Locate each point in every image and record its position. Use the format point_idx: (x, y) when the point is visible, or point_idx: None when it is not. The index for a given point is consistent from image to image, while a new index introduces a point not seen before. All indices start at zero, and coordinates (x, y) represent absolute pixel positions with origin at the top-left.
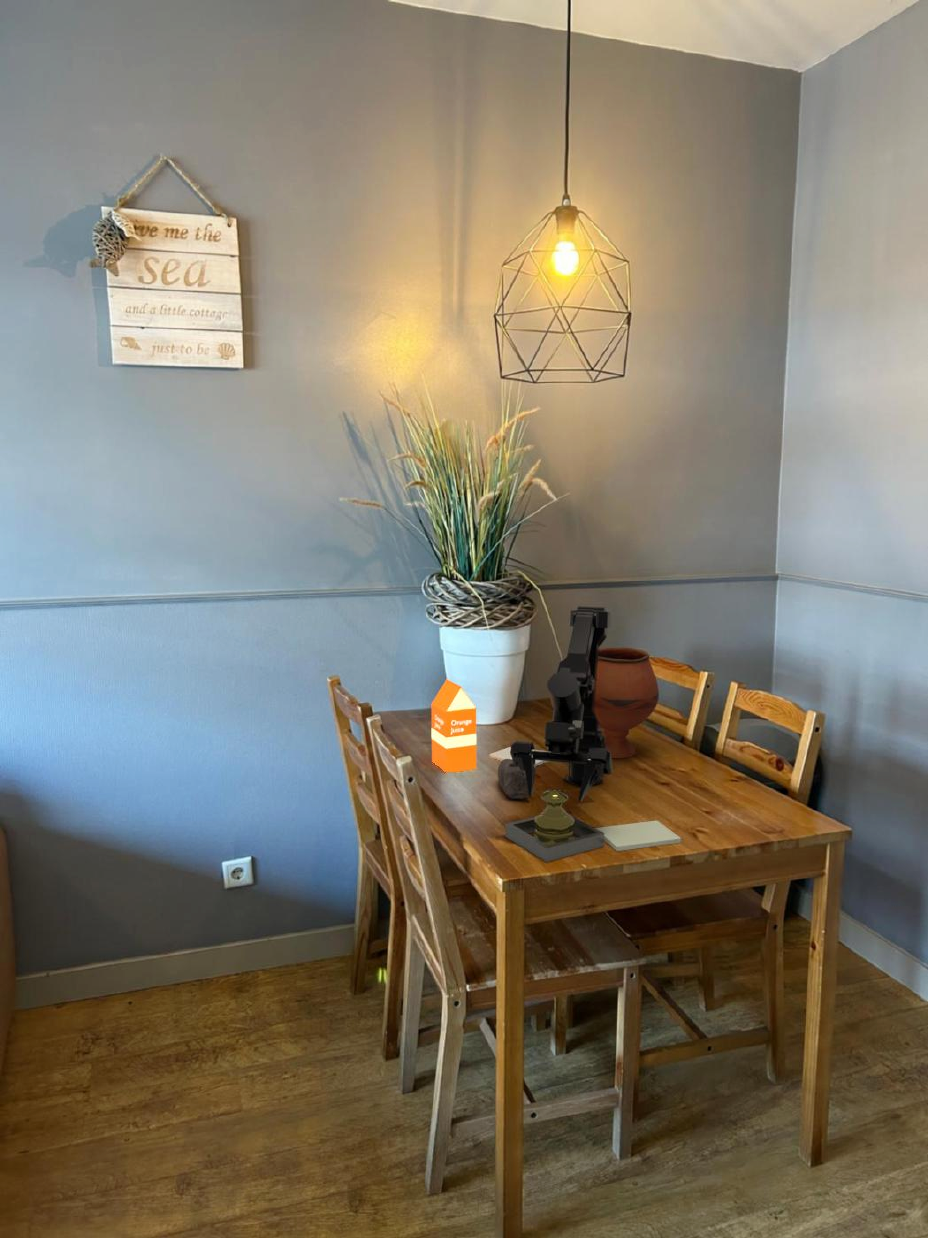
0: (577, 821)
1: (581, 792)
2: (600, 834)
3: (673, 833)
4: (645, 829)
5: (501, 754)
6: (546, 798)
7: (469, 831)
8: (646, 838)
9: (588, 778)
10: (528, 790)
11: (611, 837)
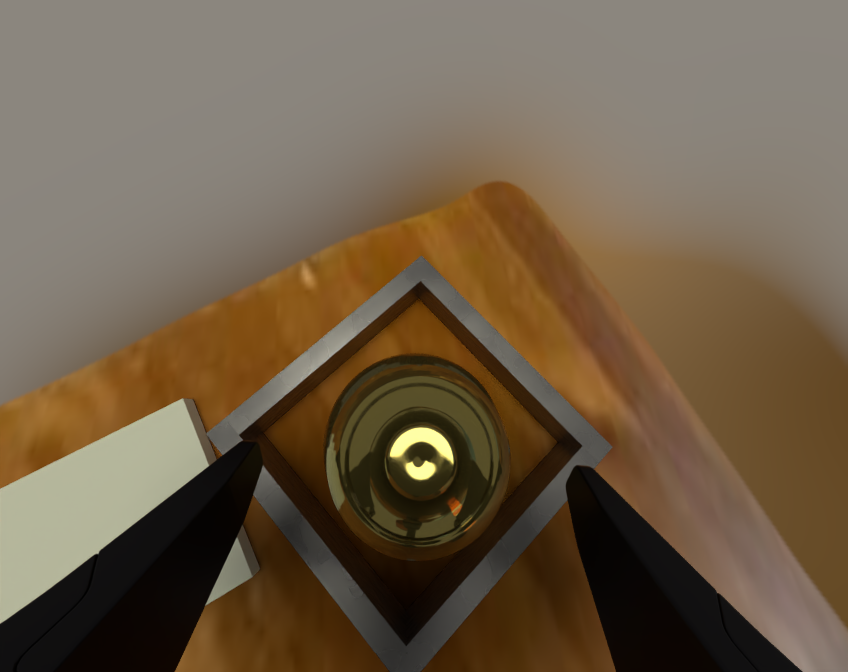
0: (319, 549)
1: (211, 477)
2: (223, 419)
3: None
4: None
5: None
6: (464, 380)
7: (714, 466)
8: (46, 509)
9: (39, 604)
10: (611, 487)
11: None
